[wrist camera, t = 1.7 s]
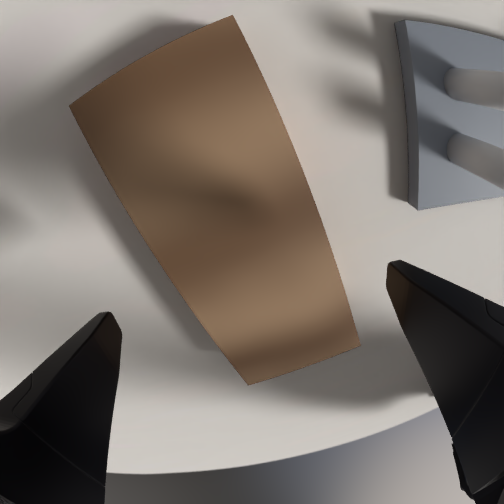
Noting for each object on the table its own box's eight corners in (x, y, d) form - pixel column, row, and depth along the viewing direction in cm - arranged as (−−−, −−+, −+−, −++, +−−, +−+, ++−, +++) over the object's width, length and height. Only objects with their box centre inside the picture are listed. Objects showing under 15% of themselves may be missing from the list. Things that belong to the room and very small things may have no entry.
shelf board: (345, 310, 18) (360, 345, 15) (245, 347, 19) (248, 385, 16) (232, 31, 11) (232, 14, 8) (99, 100, 12) (69, 105, 9)
